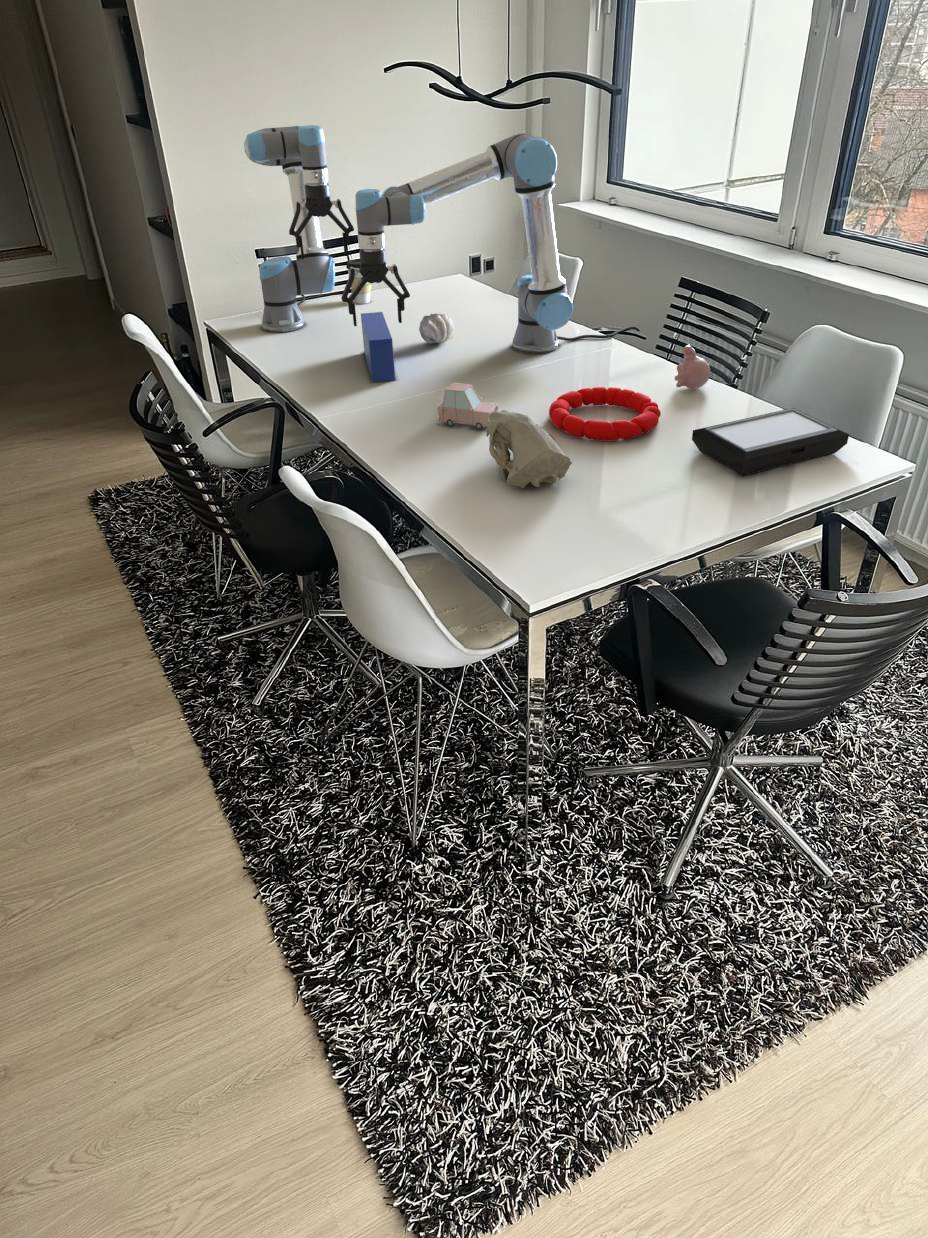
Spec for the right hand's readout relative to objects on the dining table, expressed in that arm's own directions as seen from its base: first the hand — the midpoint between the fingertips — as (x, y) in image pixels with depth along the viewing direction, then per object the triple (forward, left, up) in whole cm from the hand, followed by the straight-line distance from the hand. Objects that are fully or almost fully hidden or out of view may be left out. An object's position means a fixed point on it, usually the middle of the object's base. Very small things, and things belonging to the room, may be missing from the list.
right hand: (377, 323), depth 269 cm
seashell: (-30, -21, -17) cm, 41 cm away
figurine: (-73, +59, -17) cm, 95 cm away
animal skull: (-2, +80, -17) cm, 82 cm away
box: (-4, -11, -17) cm, 20 cm away
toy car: (-5, +47, -17) cm, 50 cm away
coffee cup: (-29, -85, -17) cm, 91 cm away
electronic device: (-60, +104, -17) cm, 121 cm away
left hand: (+3, -33, +14) cm, 36 cm away
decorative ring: (-37, +66, -17) cm, 78 cm away
